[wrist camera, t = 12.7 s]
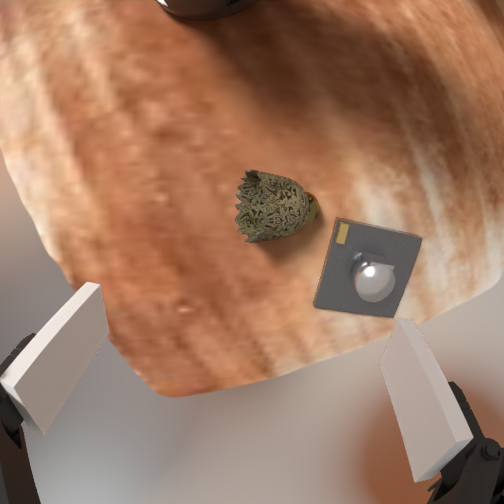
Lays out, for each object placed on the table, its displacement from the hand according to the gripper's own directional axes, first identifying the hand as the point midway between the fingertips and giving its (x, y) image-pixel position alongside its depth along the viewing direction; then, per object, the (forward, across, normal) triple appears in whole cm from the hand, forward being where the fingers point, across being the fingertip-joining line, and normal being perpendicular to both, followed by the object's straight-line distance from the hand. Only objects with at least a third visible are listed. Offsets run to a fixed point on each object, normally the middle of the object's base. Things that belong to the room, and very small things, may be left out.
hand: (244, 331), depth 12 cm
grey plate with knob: (+25, +14, -8) cm, 30 cm away
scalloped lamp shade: (+23, +6, 0) cm, 24 cm away
